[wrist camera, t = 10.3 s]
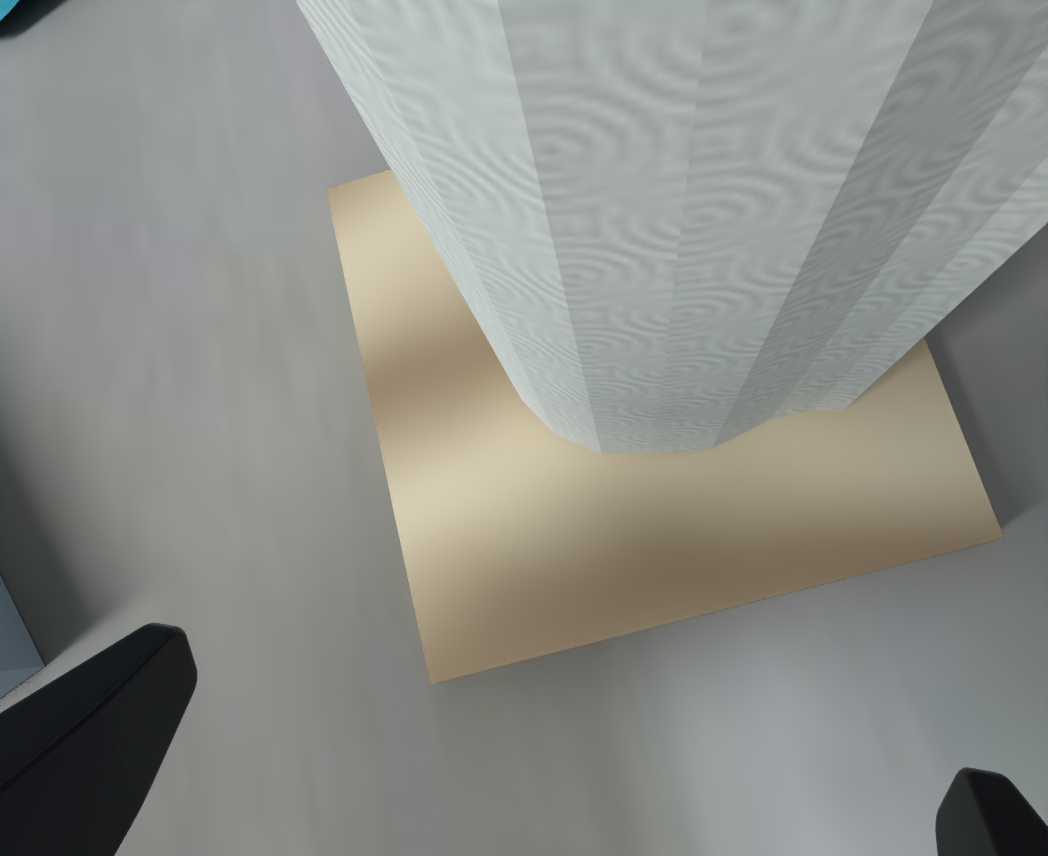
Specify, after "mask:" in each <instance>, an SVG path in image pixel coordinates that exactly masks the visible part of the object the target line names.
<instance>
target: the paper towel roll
mask: <svg viewBox="0 0 1048 856" xmlns="http://www.w3.org/2000/svg"><path fill="white" fill-rule="evenodd" d="M296 2H297V3H298V5H299V7H300V9H301V10H302V12H303V14H304V16H305V17H306V19H307V21H308V23H309V25H310V26H311V28H312V30H313V32H314V33H315V35H316V37H317V39H318V40H319V42H320V44H321V46H322V48H323V49H324V51H325V53H326V55H327V56H328V58H329V60H330V62H331V63H332V65H333V67H334V69H335V71H336V72H337V74H338V76H339V78H340V79H341V81H342V83H343V85H344V86H345V88H346V90H347V92H348V94H349V95H350V97H351V99H352V101H353V102H354V104H355V106H356V108H357V110H358V111H359V113H360V115H361V117H362V118H363V120H364V122H365V124H366V125H367V127H368V129H369V131H370V133H371V134H372V136H373V138H374V140H375V141H376V143H377V145H378V147H379V148H380V150H381V152H382V154H383V156H384V157H385V159H386V161H387V163H388V164H389V166H390V168H391V170H392V171H393V173H394V175H395V177H396V179H397V180H398V182H399V184H400V186H401V187H402V189H403V191H404V193H405V194H406V196H407V198H408V200H409V202H410V203H411V205H412V207H413V209H414V210H415V212H416V214H417V216H418V217H419V219H420V221H421V223H422V225H423V226H424V228H425V230H426V232H427V233H428V235H429V237H430V239H431V240H432V242H433V244H434V246H435V248H436V249H437V251H438V253H439V255H440V256H441V258H442V260H443V262H444V263H445V265H446V267H447V269H448V271H449V272H450V274H451V276H452V278H453V279H454V281H455V283H456V285H457V286H458V288H459V290H460V292H461V294H462V295H463V297H464V299H465V301H466V302H467V304H468V306H469V308H470V309H471V311H472V313H473V315H474V317H475V318H476V320H477V322H478V324H479V325H480V327H481V329H482V331H483V332H484V334H485V336H486V338H487V340H488V341H489V343H490V345H491V347H492V348H493V350H494V352H495V354H496V355H497V357H498V359H499V361H500V363H501V364H502V366H503V368H504V370H505V371H506V373H507V375H508V377H509V378H510V380H511V382H512V384H513V386H514V387H515V389H516V391H517V393H518V394H519V396H520V398H521V399H522V401H523V402H524V403H525V404H526V405H527V406H528V407H529V408H530V409H531V410H532V411H533V412H534V413H535V414H536V415H537V416H538V417H539V418H540V419H541V420H542V421H543V422H544V423H545V424H546V425H547V426H548V427H549V429H550V430H551V431H552V432H553V433H554V434H555V435H558V436H560V437H562V438H565V439H567V440H569V441H572V442H574V443H576V444H579V445H581V446H583V447H586V448H588V449H590V450H593V451H595V452H597V453H600V454H655V453H666V452H676V451H687V450H704V449H712V448H714V447H716V446H718V445H720V444H722V443H724V442H726V441H728V440H730V439H732V438H735V437H737V436H739V435H741V434H743V433H745V432H747V431H749V430H751V429H753V428H755V427H757V426H759V425H761V424H763V423H765V422H767V421H769V420H772V419H776V418H781V417H785V416H789V415H793V414H797V413H801V412H806V411H810V410H833V411H843V410H844V409H845V408H846V407H847V406H849V405H850V404H851V403H852V402H853V401H854V400H855V399H856V398H857V397H858V396H859V395H861V394H862V393H863V392H864V391H865V390H866V389H867V388H868V387H869V386H870V385H871V384H873V383H874V382H875V381H876V380H877V379H878V378H879V377H880V376H881V375H882V374H883V373H885V372H886V371H887V370H888V369H889V368H890V367H891V366H892V365H893V364H894V363H895V362H896V361H898V360H899V359H900V358H901V357H902V356H903V355H904V354H905V353H906V352H907V351H908V350H910V349H911V348H912V347H913V346H914V345H915V344H916V343H917V342H918V341H919V340H920V339H922V338H923V337H924V336H925V335H926V334H927V333H928V332H929V331H930V330H931V329H932V328H933V327H935V326H936V325H937V324H938V323H939V322H940V321H941V320H942V319H943V318H944V317H945V316H947V315H948V314H949V313H950V312H951V311H952V310H953V309H954V308H955V307H956V306H957V305H959V304H960V303H961V302H962V301H963V300H964V299H965V298H966V297H967V296H968V295H969V294H970V293H972V292H973V291H974V290H975V289H976V288H977V287H978V286H979V285H980V284H981V283H982V282H984V281H985V280H986V279H987V278H988V277H989V276H990V275H991V274H992V273H993V272H994V271H996V270H997V269H998V268H999V267H1000V266H1001V265H1002V264H1003V263H1004V262H1005V261H1006V260H1007V259H1009V258H1010V257H1011V256H1012V255H1013V254H1014V253H1015V252H1016V251H1017V250H1018V249H1019V248H1021V247H1022V246H1023V245H1024V244H1025V243H1026V242H1027V241H1028V240H1029V239H1030V238H1031V237H1033V236H1034V235H1035V234H1036V233H1037V232H1038V231H1039V230H1040V229H1041V228H1042V227H1043V226H1044V225H1046V224H1047V223H1048V0H296Z"/></svg>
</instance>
